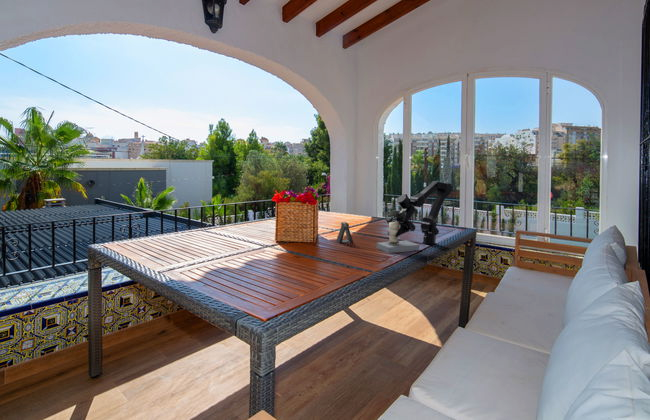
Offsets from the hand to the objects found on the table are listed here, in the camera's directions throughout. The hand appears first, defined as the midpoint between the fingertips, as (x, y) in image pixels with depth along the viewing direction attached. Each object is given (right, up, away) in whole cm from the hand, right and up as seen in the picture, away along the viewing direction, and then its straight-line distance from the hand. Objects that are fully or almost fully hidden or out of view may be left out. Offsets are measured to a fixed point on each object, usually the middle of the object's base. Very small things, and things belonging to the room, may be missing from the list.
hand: (391, 235), depth 194 cm
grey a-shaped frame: (-25, -5, +20) cm, 32 cm away
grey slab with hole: (+4, -8, +3) cm, 9 cm away
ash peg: (+1, -7, +2) cm, 7 cm away
